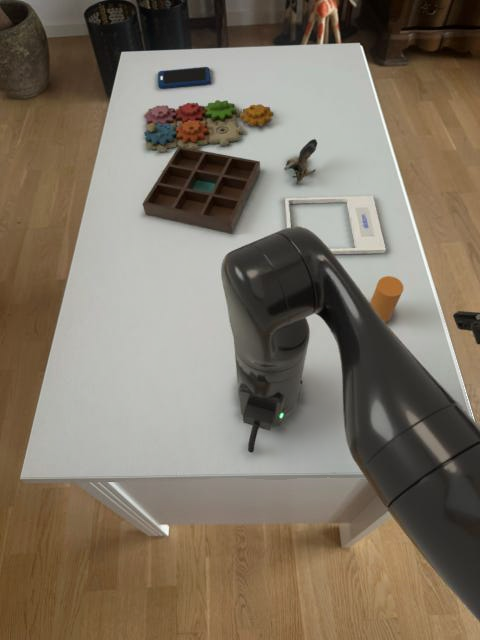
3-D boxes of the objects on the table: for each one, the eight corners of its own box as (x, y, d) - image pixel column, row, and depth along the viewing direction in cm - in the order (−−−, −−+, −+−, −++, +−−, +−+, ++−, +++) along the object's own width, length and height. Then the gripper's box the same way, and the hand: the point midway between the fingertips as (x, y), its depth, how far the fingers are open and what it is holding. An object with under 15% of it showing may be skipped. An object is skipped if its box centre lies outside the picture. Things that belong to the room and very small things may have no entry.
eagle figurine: (324, 181, 93) (324, 148, 96) (308, 161, 88) (309, 126, 91) (292, 193, 97) (293, 161, 101) (275, 174, 92) (277, 141, 95)
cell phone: (158, 73, 120) (157, 71, 119) (209, 69, 120) (209, 66, 120) (158, 88, 116) (158, 85, 116) (211, 83, 116) (210, 81, 116)
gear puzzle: (269, 102, 111) (269, 86, 108) (278, 141, 103) (279, 125, 99) (145, 113, 111) (142, 98, 107) (145, 154, 102) (141, 139, 98)
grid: (232, 233, 88) (231, 223, 85) (145, 214, 91) (142, 203, 89) (260, 172, 97) (260, 161, 95) (180, 157, 101) (178, 146, 98)
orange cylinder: (388, 326, 75) (401, 299, 68) (365, 320, 76) (375, 292, 69) (392, 307, 77) (405, 279, 70) (369, 302, 78) (379, 273, 71)
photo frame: (385, 249, 82) (289, 251, 83) (384, 253, 83) (289, 255, 84) (373, 195, 90) (285, 197, 91) (372, 199, 91) (284, 201, 92)
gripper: (589, 383, 41) (450, 356, 56) (675, 308, 45) (523, 301, 60) (568, 313, 39) (430, 304, 54) (659, 241, 43) (507, 251, 58)
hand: (479, 303), depth 57 cm, fingers open, 8 cm apart
